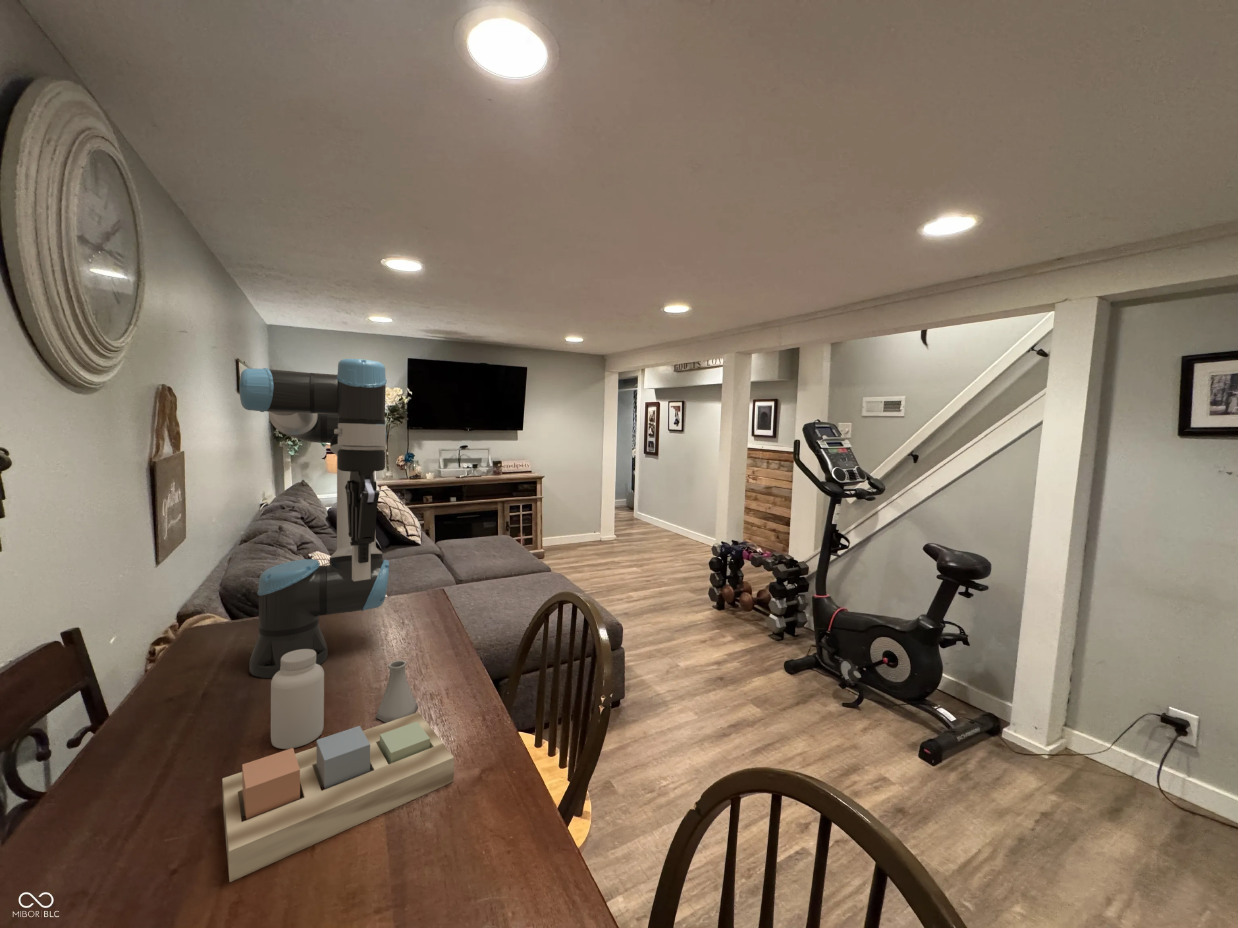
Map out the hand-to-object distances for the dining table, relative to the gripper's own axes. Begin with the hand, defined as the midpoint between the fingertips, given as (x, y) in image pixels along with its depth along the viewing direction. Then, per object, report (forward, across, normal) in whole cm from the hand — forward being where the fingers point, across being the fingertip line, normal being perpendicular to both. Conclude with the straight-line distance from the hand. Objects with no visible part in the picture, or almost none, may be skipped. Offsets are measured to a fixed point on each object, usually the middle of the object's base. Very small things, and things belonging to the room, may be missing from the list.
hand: (361, 578), depth 88 cm
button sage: (+27, +15, +3) cm, 31 cm away
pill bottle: (+29, -5, -9) cm, 30 cm away
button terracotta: (+25, +15, -15) cm, 32 cm away
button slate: (+25, +15, -6) cm, 29 cm away
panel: (+28, +15, -6) cm, 33 cm away
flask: (+29, -2, +7) cm, 30 cm away
